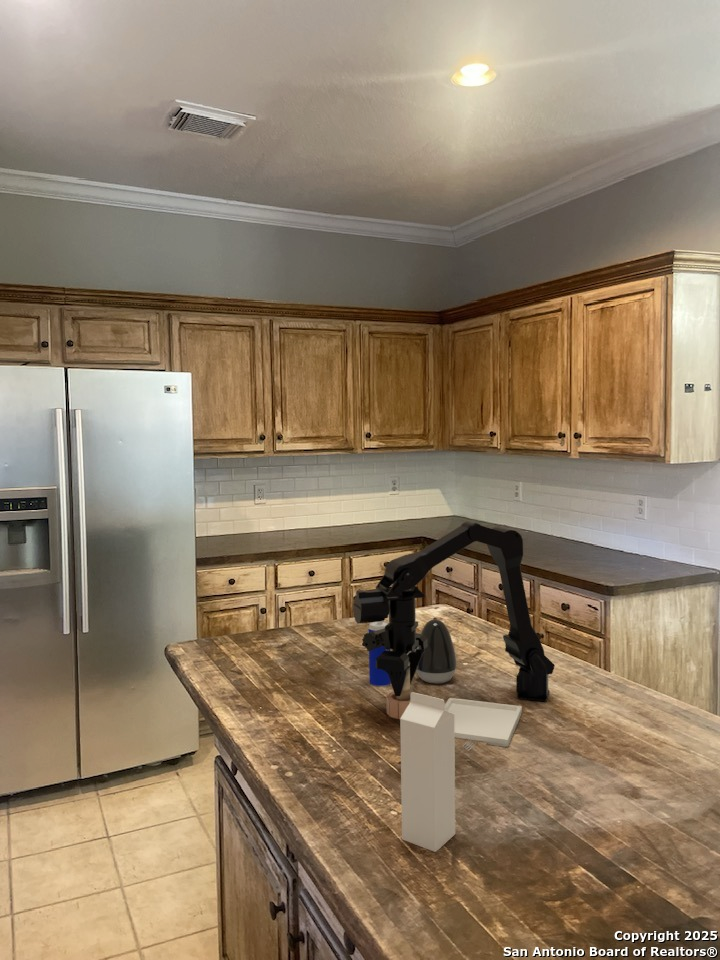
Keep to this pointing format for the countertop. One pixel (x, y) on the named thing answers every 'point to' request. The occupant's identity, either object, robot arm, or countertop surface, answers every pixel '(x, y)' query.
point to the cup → (396, 706)
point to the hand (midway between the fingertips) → (403, 689)
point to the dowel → (405, 689)
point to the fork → (463, 745)
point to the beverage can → (375, 675)
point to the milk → (427, 772)
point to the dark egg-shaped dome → (437, 654)
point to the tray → (484, 720)
